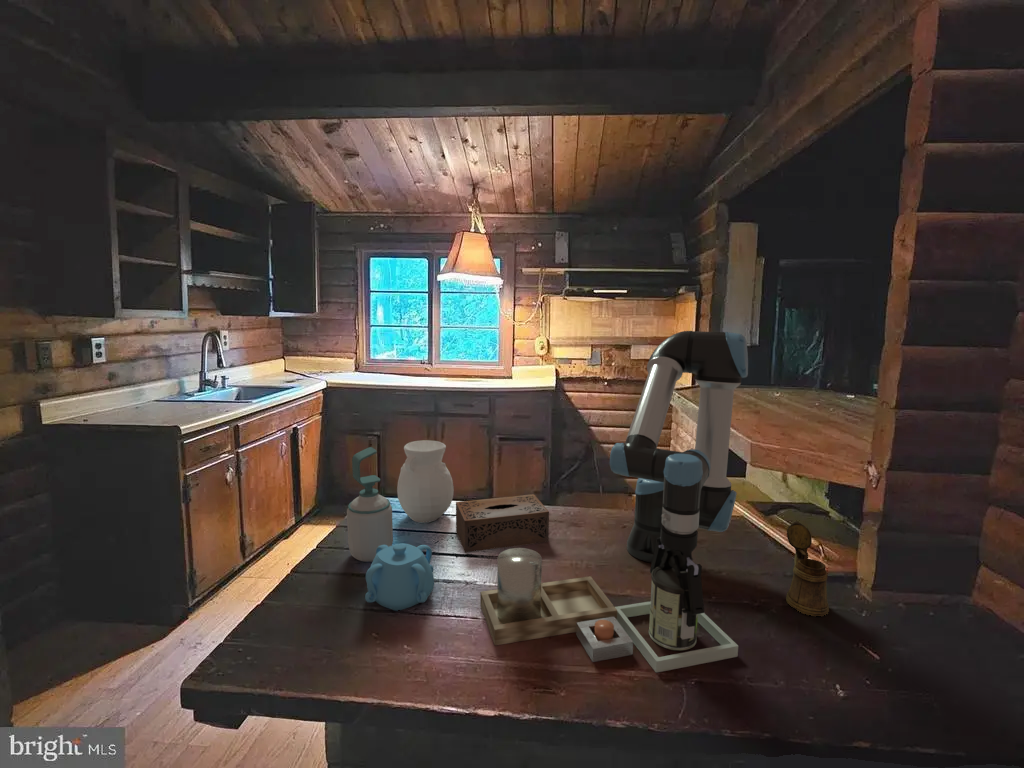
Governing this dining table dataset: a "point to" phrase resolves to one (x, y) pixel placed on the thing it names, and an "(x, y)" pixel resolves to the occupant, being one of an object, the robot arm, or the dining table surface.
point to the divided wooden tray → (551, 611)
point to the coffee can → (668, 611)
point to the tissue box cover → (501, 522)
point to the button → (604, 630)
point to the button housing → (604, 641)
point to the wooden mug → (806, 575)
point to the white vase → (425, 481)
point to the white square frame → (681, 659)
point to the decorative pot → (400, 576)
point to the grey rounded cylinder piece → (518, 585)
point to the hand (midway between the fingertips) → (673, 622)
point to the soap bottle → (368, 515)
